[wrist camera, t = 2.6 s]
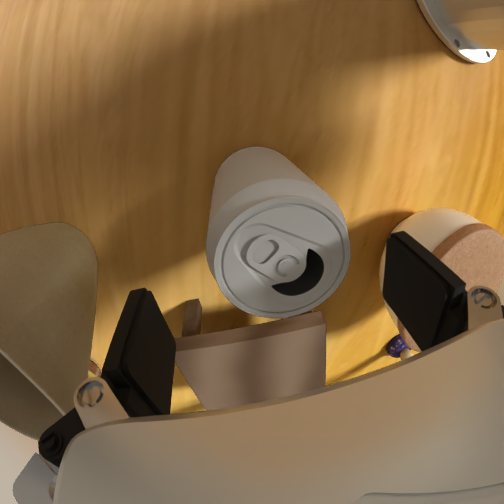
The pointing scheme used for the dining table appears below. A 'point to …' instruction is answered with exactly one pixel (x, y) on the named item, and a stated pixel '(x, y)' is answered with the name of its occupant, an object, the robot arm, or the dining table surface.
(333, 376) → the dining table surface
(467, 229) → the lidded bowl
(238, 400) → the small brown table
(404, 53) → the dining table surface
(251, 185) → the beverage can
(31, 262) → the plant pot
